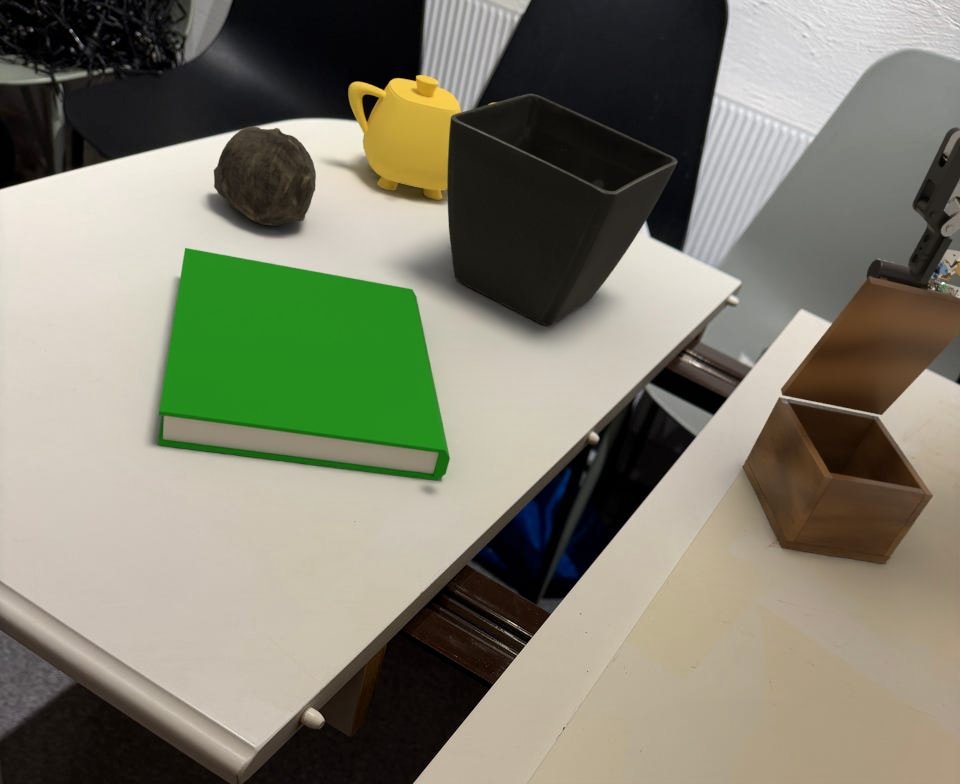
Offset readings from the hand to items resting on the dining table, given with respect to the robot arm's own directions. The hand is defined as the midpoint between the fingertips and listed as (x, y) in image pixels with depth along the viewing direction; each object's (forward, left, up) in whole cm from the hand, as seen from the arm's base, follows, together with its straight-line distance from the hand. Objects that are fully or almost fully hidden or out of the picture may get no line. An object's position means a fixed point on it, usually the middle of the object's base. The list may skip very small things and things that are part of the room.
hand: (957, 287), depth 77 cm
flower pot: (+25, -35, -23) cm, 49 cm away
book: (+49, -8, -23) cm, 55 cm away
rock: (+55, -40, -23) cm, 72 cm away
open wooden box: (+1, +1, -22) cm, 23 cm away
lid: (+1, -3, -8) cm, 9 cm away
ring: (-8, -4, 0) cm, 9 cm away
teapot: (+37, -61, -23) cm, 75 cm away
